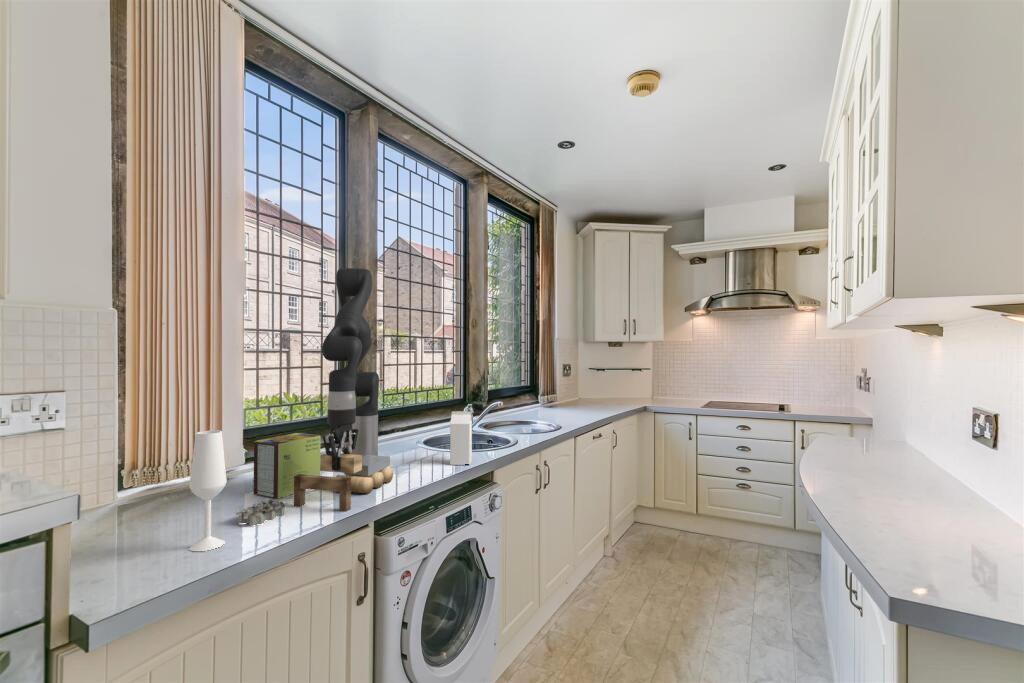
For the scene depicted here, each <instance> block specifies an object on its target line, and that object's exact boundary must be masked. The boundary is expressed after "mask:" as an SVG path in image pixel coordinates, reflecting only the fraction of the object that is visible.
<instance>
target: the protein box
mask: <svg viewBox="0 0 1024 683" xmlns="http://www.w3.org/2000/svg"><path fill="white" fill-rule="evenodd" d="M320 456H321V435H320V434H312V433H311V434H310V433H303V432H293V433H289V434H284V435H279V436H275V437H274V436H273V437H269V438H264V439H258V440H255V441H253V493H252V494H253V495H254V494H257V495H256V496H259V495H261V496H260V497H265V496H267V497H266V498H270V497H272V498H271V499H275V498H277V499H276V500H279V499H282V498H284V496H286V497H288V496H287V495H289V496H291V495H290V494H292V495H294V494H293V493H294V476H296V475H298V474H303V475H316V476H321V471H320ZM305 491H307V490H306V489H305ZM281 497H282V498H281ZM278 498H279V499H278Z"/></svg>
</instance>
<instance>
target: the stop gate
mask: <svg viewBox="0 0 1024 683" xmlns="http://www.w3.org/2000/svg"><path fill="white" fill-rule="evenodd" d="M305 489H308V490H314V491H315V490H316V491H326V492H327V491H329V492H338V493H339V501H338V502H339V504H338V505H339V509H338V511H340V512H348V511H350V510H351V509H352V507H351V506H352V505H351V504H352V502H351V501H352V492H351V478H341V477H336V476H328V475H320V476H316V475H303V474H298V475H296V476H294V494H293V507H295V506H301V507H303V506H305V505H306V490H305ZM304 504H305V505H304ZM302 505H303V506H302Z"/></svg>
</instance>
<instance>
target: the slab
mask: <svg viewBox="0 0 1024 683" xmlns="http://www.w3.org/2000/svg"><path fill="white" fill-rule="evenodd" d="M390 466H391V456H388V455H387V456H386V455H378V456H375V455H367V456H364V457H362V470H361V471H358V472H356V473H343V474H344V475H359V476H370V475H372V474H374V473H376V472H378V471H380V470H382V469H384V468H390Z"/></svg>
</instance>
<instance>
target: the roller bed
mask: <svg viewBox="0 0 1024 683" xmlns="http://www.w3.org/2000/svg"><path fill="white" fill-rule="evenodd" d="M335 477H341V478H351V493H357V494H370V493H371V492H372V491H373V488H377V489H379V488H381V487H382V486H383V484H384V483H387V484H388V483H391V482H392V481H393V477H394V470H393V468H392V467H387V468H384V469H382V470H380V471H378V472H376V473H374V474H372V475H370V476H359V475H346V474H344V475H342V474H337V475H336V476H335Z"/></svg>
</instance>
